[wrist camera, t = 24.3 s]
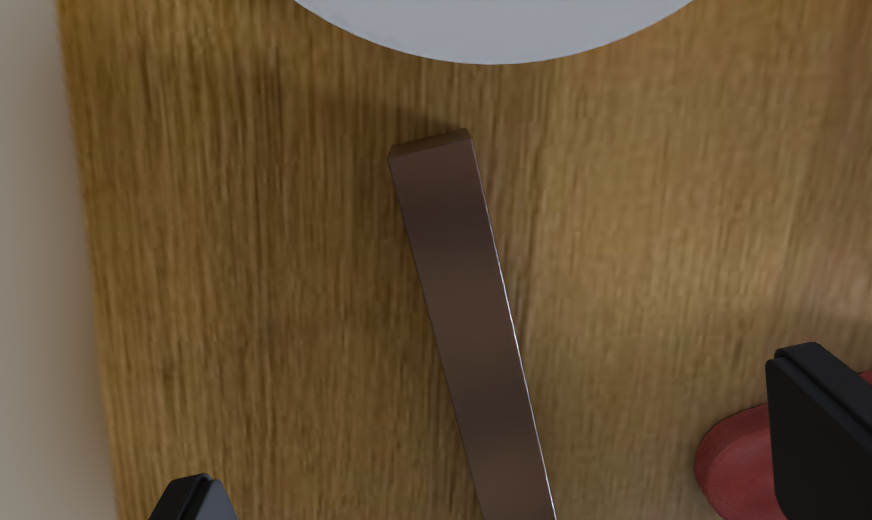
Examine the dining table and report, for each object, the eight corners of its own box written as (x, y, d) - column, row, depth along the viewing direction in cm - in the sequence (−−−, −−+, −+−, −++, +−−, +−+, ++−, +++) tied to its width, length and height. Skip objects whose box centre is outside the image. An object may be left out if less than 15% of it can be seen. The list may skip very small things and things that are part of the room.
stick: (390, 145, 20) (386, 158, 17) (466, 127, 20) (471, 137, 17) (497, 550, 25) (504, 601, 22) (558, 538, 24) (572, 588, 22)
